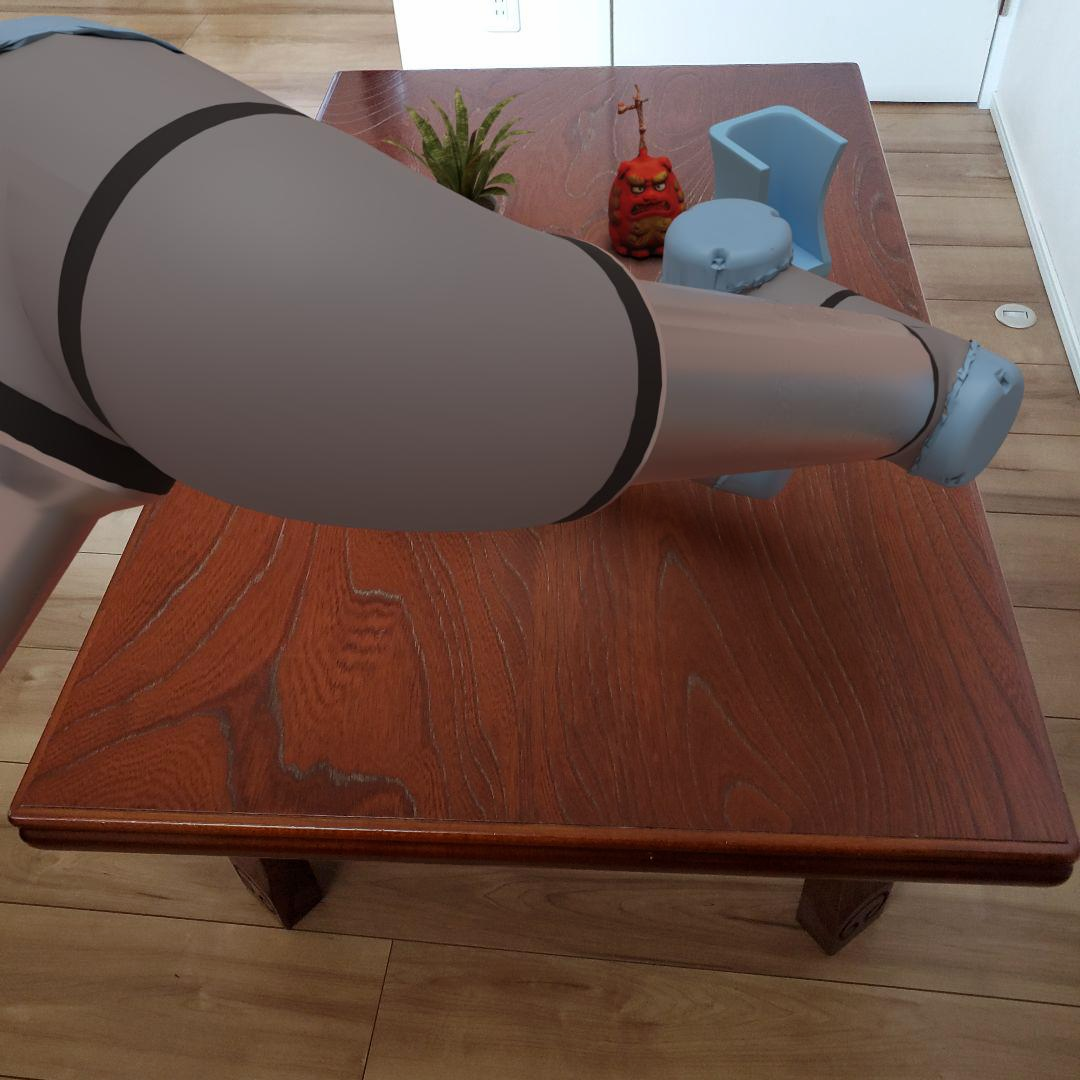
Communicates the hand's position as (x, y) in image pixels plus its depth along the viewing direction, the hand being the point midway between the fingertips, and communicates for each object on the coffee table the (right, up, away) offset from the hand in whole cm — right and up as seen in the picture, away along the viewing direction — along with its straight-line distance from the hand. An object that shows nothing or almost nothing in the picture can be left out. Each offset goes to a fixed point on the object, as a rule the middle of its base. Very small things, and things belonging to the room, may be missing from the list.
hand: (328, 313), depth 88 cm
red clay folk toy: (+27, +12, +24) cm, 38 cm away
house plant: (+11, +10, +23) cm, 27 cm away
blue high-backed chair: (+35, -1, +11) cm, 37 cm away
